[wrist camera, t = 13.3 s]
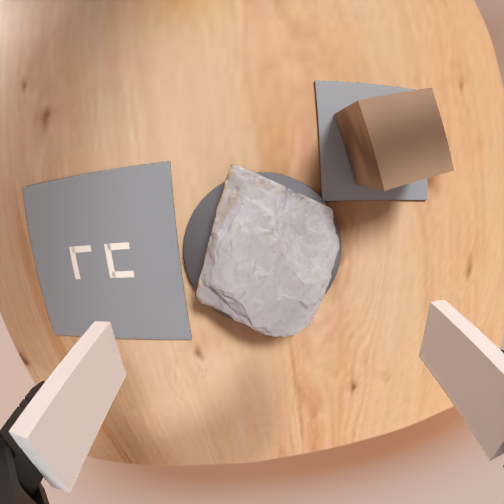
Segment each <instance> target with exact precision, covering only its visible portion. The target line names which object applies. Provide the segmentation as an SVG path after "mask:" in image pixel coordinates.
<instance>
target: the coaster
mask: <svg viewBox="0 0 504 504" xmlns="http://www.w3.org/2000/svg"><path fill="white" fill-rule="evenodd" d="M256 174H259V175H261V176H263V177H265V178H267V179H270V180H272V181H274V182H276V183H279V184H281V185H283V186H285V187H287V188H289V189H291V190H293V191H296V192H298V193H300V194H302V195H305V196H306V197H308V198H310V199H313V200H315V201H317V202H319V203H321V204H323V205H326V206H327V204H326V203H325V201H324V200H323V199H322V198H321V197H320V196H319V195H318V194H317V193H316V192H315V191H313V190H312V189H311V188H310V187H308V186H307V185H305V184H303V183H302V182H300V181H298V180H296V179H293V178H291V177H288V176H284V175H281V174H275V173H263V172H258V173H256ZM224 184H225V182H224V183H222V184H221V185H219V186H217V187H216V188H215V189H213V190H212V191H211V192H210V193H208V194H207V195H206V197H205V198H204V199H203V200H202V201H201V202H200V203H199V205H198V206H197V207H196V209H195V210H194V212H193V214H192V216H191V218H190V220H189V223H188V225H187V228H186V232H185V237H184V247H183V251H184V261H185V267H186V270H187V273H188V276H189V279H190V281H191V283H192V285H193V287H194V288H195V290H196V291H197V288H198V281H199V278H200V274H201V271H202V267H203V264H204V259H205V254H206V250H207V246H208V242H209V238H210V236H211V231H212V227H213V224H214V220H215V216H216V210H217V206H218V204H219V200H220V197H221V194H222V191H223V188H224ZM333 223H334V226H335V230H336V234H337V236H338V239H339V250H338V253H337V256H336V259H335V263H334V267H333V269H332V271H331V276H332V277H331V279H330V281H329V284H328V286H327V289H326V292H327V291H328V289H329V288H330V286H331V284H332V283H333V281H334V279H335V276H336V273H337V271H338V267H339V263H340V257H341V238H340V233H339V229H338V226H337V223H336V220H335V218H334V216H333ZM326 292H325V294H326ZM212 308H213V307H212ZM213 309H214V310H216V311H217V312H219V313H220V314H222V315H224V316H226V317H228V318H230V319H233V318H232V317H231V316H230V315H228V314H227V313H225V312H223V311H221V310H218V309H215V308H213ZM233 320H234V319H233Z"/></svg>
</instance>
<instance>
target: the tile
mask: <svg viewBox="0 0 504 504" xmlns="http://www.w3.org/2000/svg"><path fill="white" fill-rule="evenodd" d="M315 89H316V101H317V114H318V129H319V146H320V166H321V194H322V199H323V200H324V201H345V200H427V178H426V179H423V180H419V181H416V182H412V183H409V184H406V185H402V186H399V187H396V188H392V189H389V190H386V191H383V190H379V189H374V188H370V187H366V186H361V185H356V184H355V181H354V177H353V174H352V170H351V167H350V163H349V160H348V156H347V153H346V150H345V146H344V143H343V140H342V137H341V134H340V131H339V128H338V125H337V122H336V119H335V116H334V114H335V113H337V112H339V111H340V110H342V109H344V108H345V107H347V106H349V105H351V104H352V103H354V102H356V101H358V100H362V99H367V98H372V97H378V96H383V95H388V94H394V93H400V92H406V91H413V90H414V89H408V88H401V87H393V86H385V85H376V84H366V83H353V82H338V81H315Z"/></svg>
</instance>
